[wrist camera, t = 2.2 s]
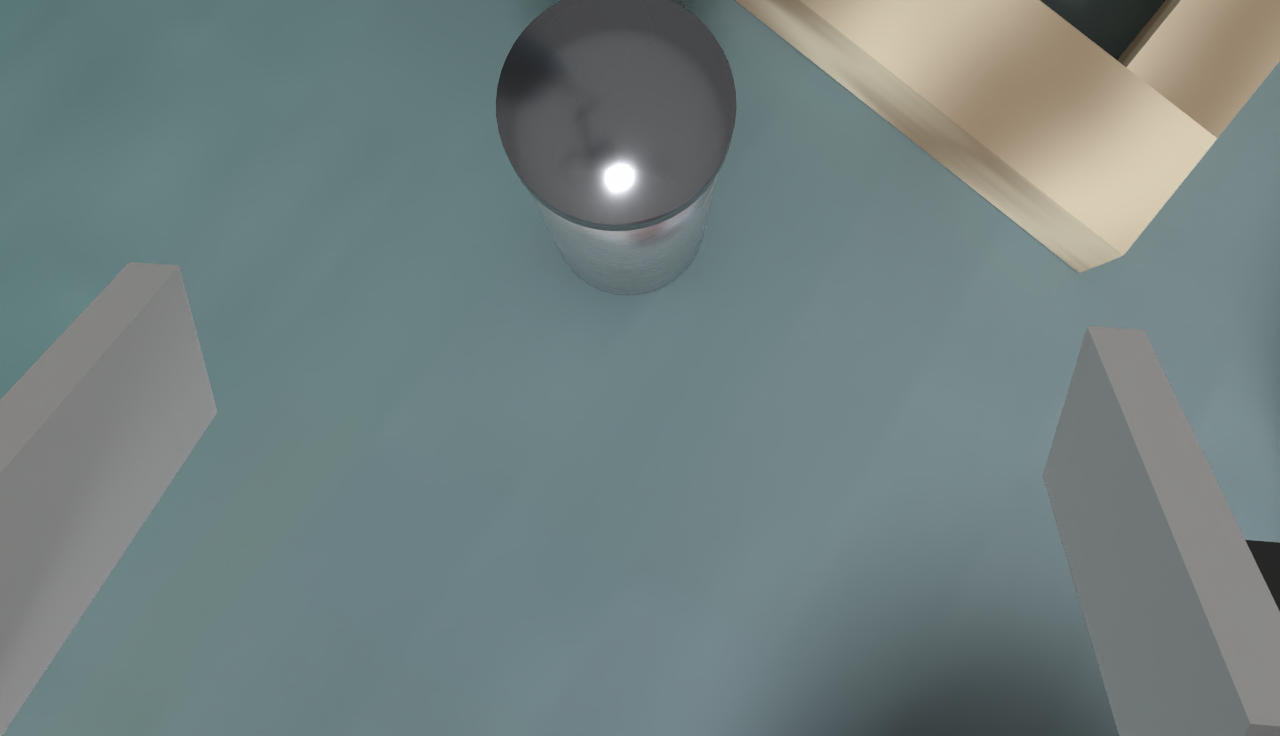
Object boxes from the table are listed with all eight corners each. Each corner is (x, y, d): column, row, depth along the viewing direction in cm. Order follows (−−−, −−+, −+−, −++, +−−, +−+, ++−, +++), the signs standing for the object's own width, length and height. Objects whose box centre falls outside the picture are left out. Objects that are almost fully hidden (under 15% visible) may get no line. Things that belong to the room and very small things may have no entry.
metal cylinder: (517, 230, 32) (446, 121, 21) (618, 110, 33) (600, -60, 22) (639, 331, 32) (632, 272, 21) (740, 209, 32) (785, 87, 21)
